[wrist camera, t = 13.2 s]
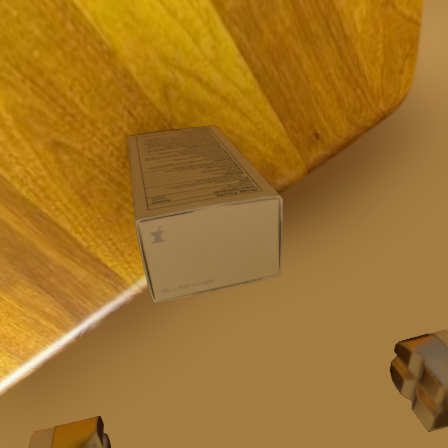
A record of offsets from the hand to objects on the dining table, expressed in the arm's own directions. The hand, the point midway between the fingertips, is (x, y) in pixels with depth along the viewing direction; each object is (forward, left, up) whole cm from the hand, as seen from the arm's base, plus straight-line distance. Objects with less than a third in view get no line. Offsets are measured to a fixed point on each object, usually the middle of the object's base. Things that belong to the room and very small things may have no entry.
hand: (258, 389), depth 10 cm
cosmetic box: (0, 0, -19) cm, 19 cm away
